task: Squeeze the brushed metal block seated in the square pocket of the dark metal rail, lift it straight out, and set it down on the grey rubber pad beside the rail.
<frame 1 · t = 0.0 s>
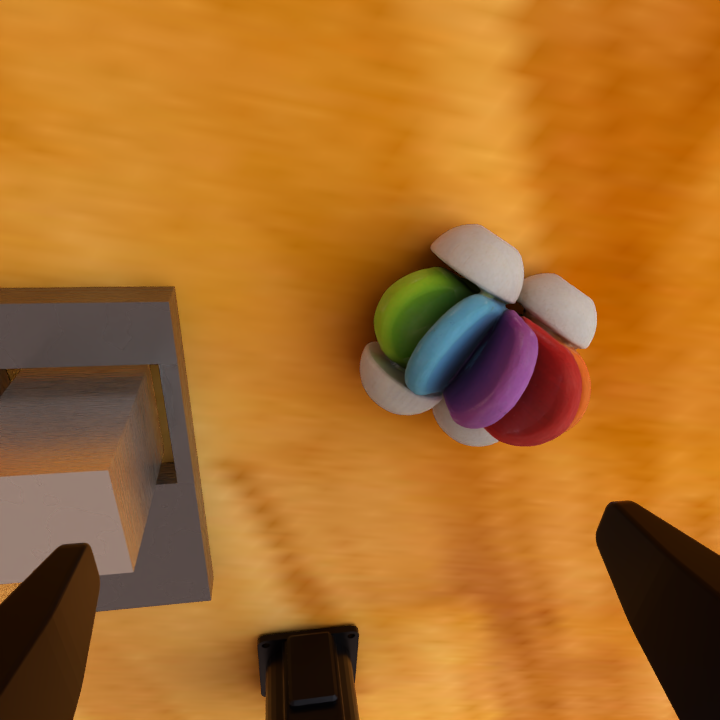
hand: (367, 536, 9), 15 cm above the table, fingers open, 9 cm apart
rail: (111, 462, 25), on the table
brushed metal block: (99, 410, 24), resting in rail
toy car: (458, 321, 25), on the table
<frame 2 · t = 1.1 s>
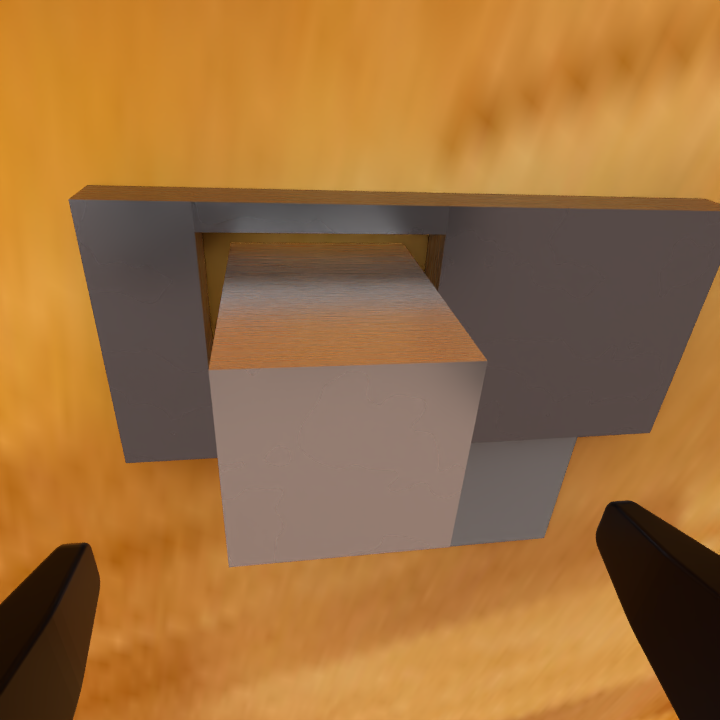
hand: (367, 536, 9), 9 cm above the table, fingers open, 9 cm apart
rail: (411, 319, 17), on the table
brushed metal block: (317, 320, 17), resting in rail
pad: (487, 484, 21), on the table
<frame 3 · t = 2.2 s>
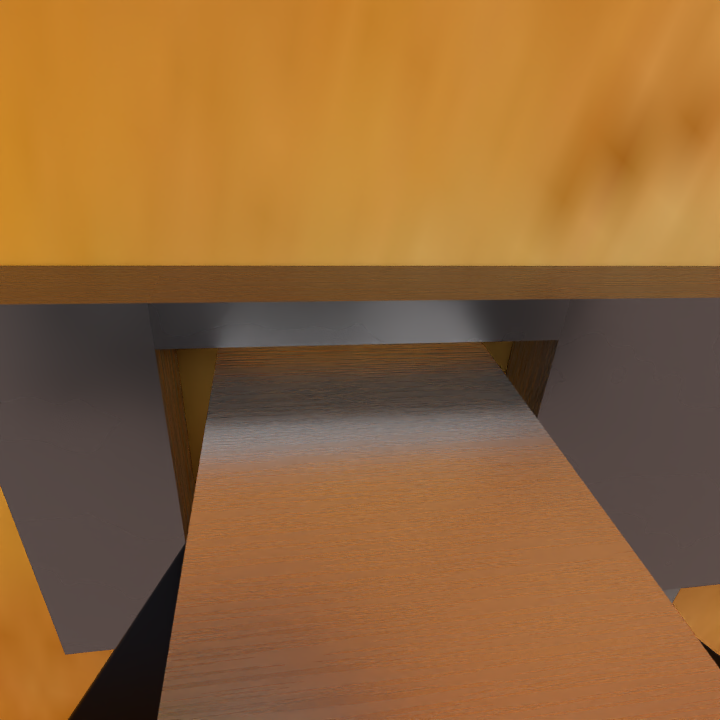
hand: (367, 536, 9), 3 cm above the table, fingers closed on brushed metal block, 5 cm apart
rail: (481, 437, 12), on the table
brushed metal block: (348, 443, 11), resting in rail, touching gripper
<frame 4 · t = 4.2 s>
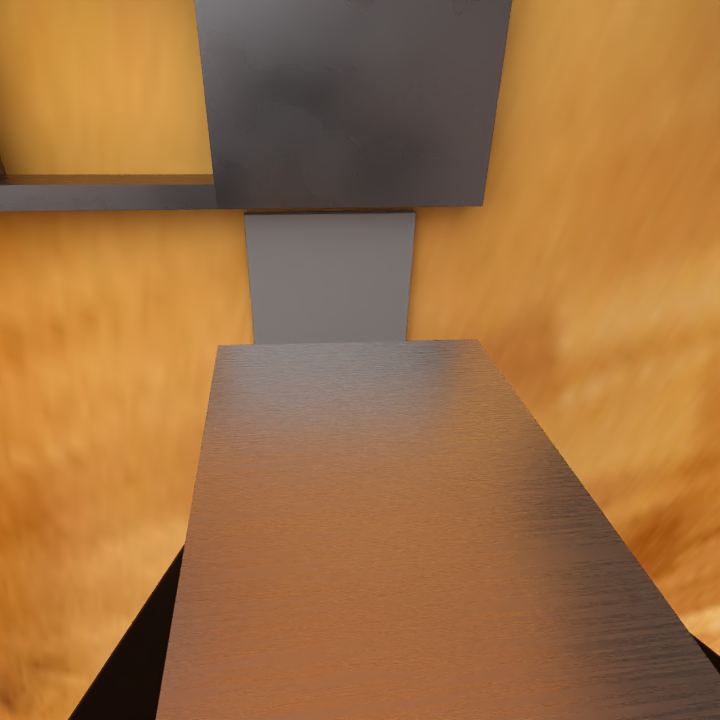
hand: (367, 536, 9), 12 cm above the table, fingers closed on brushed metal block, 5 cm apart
rail: (197, 61, 16), on the table
brushed metal block: (347, 444, 11), point 10 cm above the table, touching gripper
pad: (330, 289, 20), on the table
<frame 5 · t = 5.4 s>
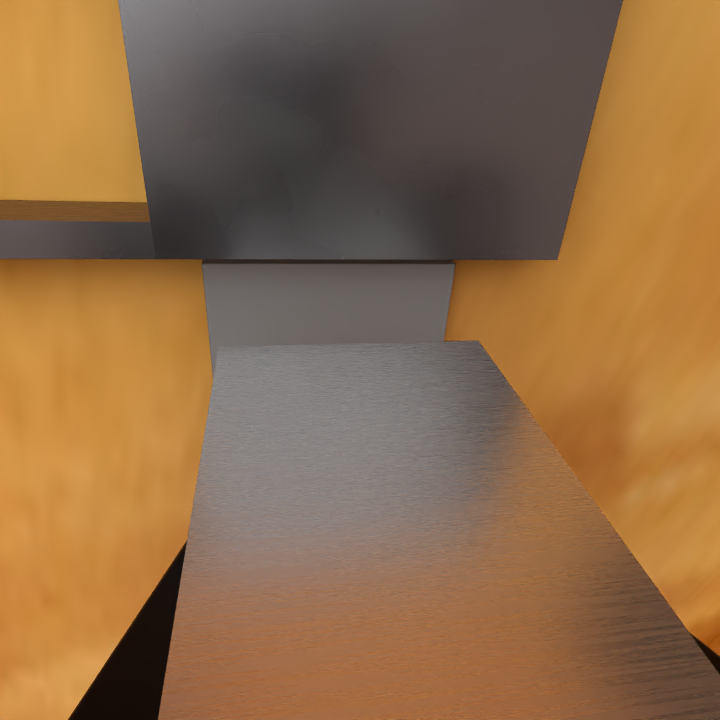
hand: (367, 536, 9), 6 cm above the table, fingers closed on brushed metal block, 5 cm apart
rail: (126, 27, 10), on the table
brushed metal block: (347, 445, 11), point 3 cm above the table, touching gripper
pad: (328, 364, 14), on the table
when the fingers open (4 cm above the table, at t = 6.2 s): brushed metal block drops 1 cm, resting on pad.
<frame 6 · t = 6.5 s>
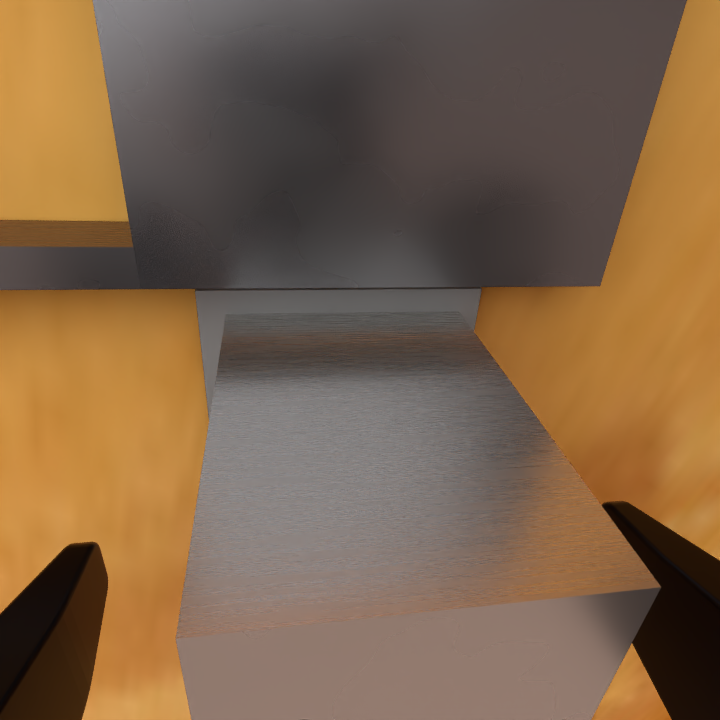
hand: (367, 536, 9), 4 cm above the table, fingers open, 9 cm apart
rail: (104, 19, 8), on the table
brushed metal block: (341, 408, 12), resting on pad
pad: (337, 398, 13), on the table
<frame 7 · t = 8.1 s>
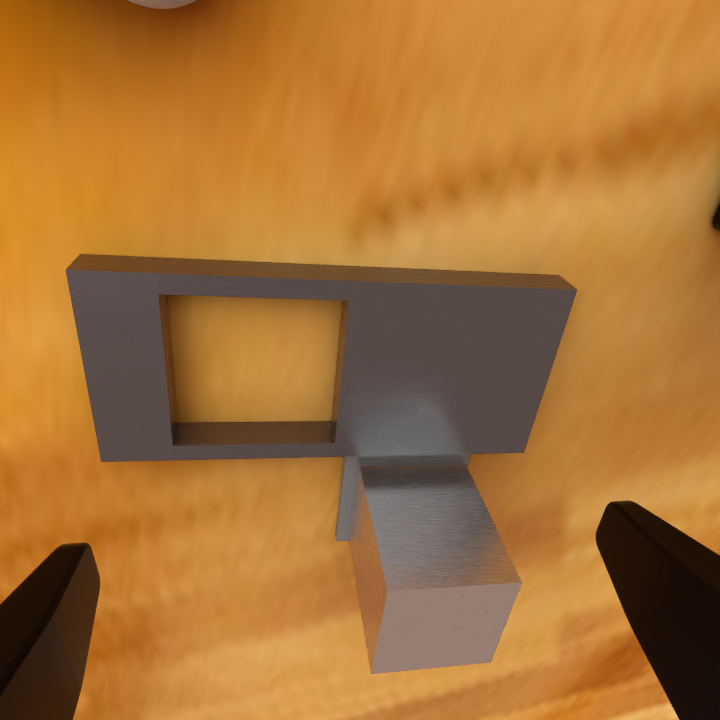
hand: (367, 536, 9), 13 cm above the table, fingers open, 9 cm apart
rail: (331, 357, 22), on the table
brushed metal block: (402, 495, 26), resting on pad
pad: (400, 489, 26), on the table
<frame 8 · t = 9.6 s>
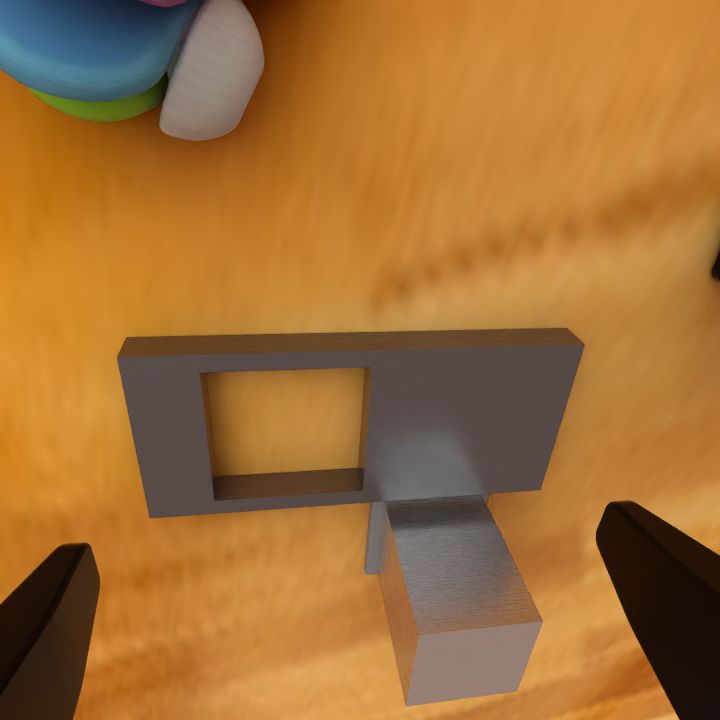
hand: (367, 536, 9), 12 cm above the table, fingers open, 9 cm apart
rail: (356, 412, 23), on the table
brushed metal block: (427, 531, 27), resting on pad
pad: (424, 525, 28), on the table
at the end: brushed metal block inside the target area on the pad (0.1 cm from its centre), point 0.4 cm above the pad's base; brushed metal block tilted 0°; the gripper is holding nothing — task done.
